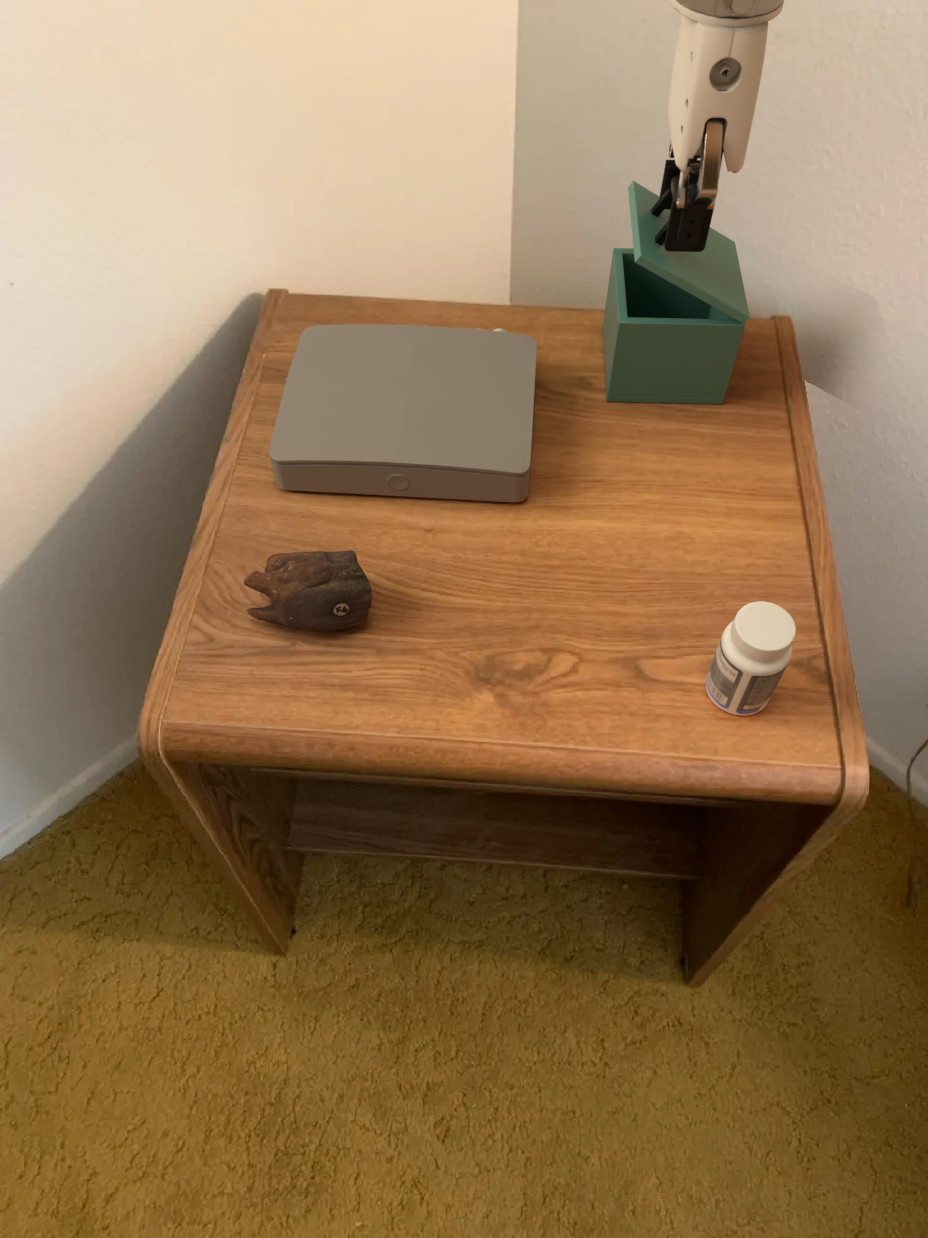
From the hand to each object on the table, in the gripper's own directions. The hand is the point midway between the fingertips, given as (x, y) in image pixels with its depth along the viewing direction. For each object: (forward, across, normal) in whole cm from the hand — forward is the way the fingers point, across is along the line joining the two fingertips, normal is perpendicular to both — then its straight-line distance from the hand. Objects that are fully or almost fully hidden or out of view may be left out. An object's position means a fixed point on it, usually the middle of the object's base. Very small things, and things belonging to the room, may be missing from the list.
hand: (680, 225), depth 76 cm
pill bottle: (+15, -36, -4) cm, 39 cm away
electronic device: (+15, -8, +22) cm, 28 cm away
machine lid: (+3, 0, -1) cm, 3 cm away
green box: (+14, 0, -1) cm, 14 cm away
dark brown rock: (+15, -29, +28) cm, 43 cm away
